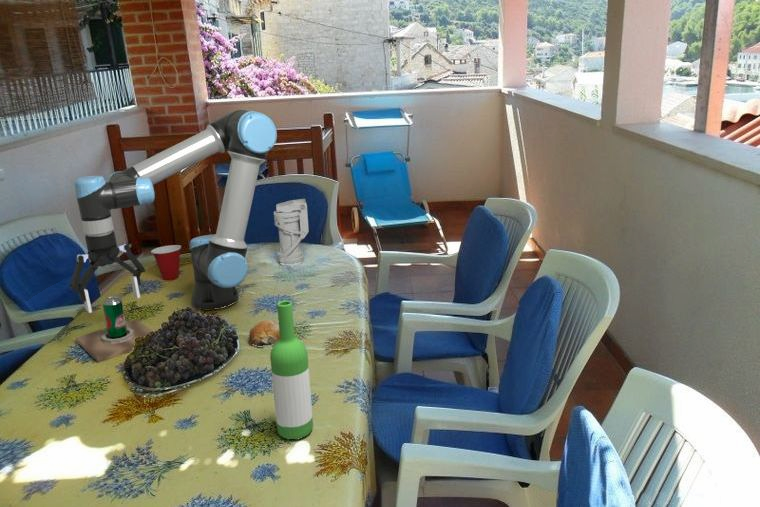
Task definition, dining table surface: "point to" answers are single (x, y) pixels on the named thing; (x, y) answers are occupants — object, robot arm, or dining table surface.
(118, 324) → the soda can
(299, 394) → the wine bottle
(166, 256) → the plastic cup
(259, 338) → the bread roll
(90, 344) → the collar board
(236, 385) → the dining table surface
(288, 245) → the grey tall angular piece
